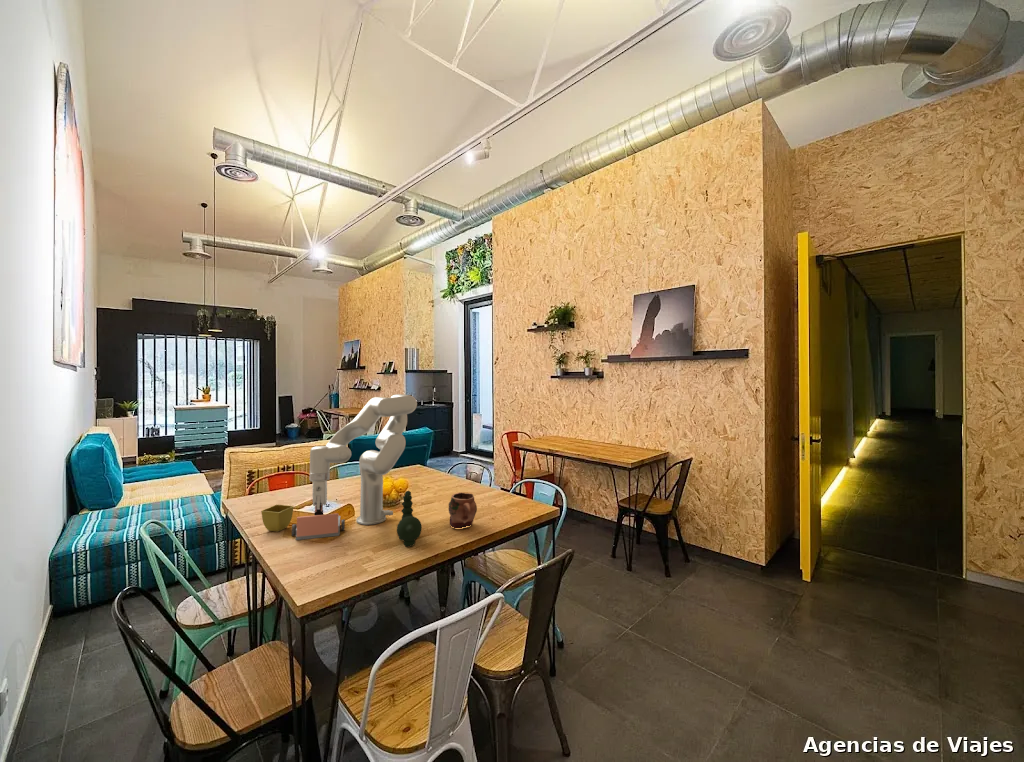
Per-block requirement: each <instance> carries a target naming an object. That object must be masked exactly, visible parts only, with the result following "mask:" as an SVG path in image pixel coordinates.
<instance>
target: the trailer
mask: <svg viewBox="0 0 1024 762" xmlns="http://www.w3.org/2000/svg"><path fill="white" fill-rule="evenodd" d="M345 526H346V519H345V518H344V519H341V515H338V531H339V534H332V535H323V536H313V537H303V538H296V536H297V523H293V524H292V525H291V536H295V541H301V540H310V539H319V538H320V539H321V538H329V537H339V536H340V535H341V533H340V531H345V528H346V527H345Z"/></svg>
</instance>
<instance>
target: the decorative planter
mask: <svg viewBox="0 0 1024 762" xmlns="http://www.w3.org/2000/svg"><path fill="white" fill-rule="evenodd" d="M477 511H478V506H477V503H476V500H475V496H474V494H473V493H468V492H467V493H466V492H457V493H456V492H455V493H453V494H452V495H451V497H450V501H449V503H448V513H449V515H450V516H449V525H451V526H452V527H454V528H462V527H466V526H470V525H472V526H473V523H474V519H475V517H476V514H477ZM451 526H450V527H451Z"/></svg>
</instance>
